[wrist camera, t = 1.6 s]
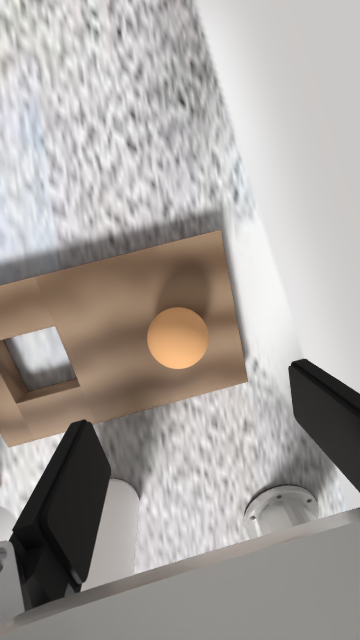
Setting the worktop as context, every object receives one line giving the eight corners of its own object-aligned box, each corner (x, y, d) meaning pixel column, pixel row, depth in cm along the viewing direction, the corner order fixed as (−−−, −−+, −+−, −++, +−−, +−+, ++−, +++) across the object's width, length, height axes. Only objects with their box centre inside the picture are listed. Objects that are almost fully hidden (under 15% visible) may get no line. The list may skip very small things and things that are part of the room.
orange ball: (207, 346, 25) (221, 370, 19) (156, 359, 25) (156, 388, 19) (195, 296, 23) (207, 306, 17) (141, 310, 23) (136, 325, 17)
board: (240, 372, 29) (248, 381, 27) (21, 431, 28) (8, 447, 26) (214, 233, 24) (220, 229, 22) (-50, 300, 23) (-74, 304, 21)
